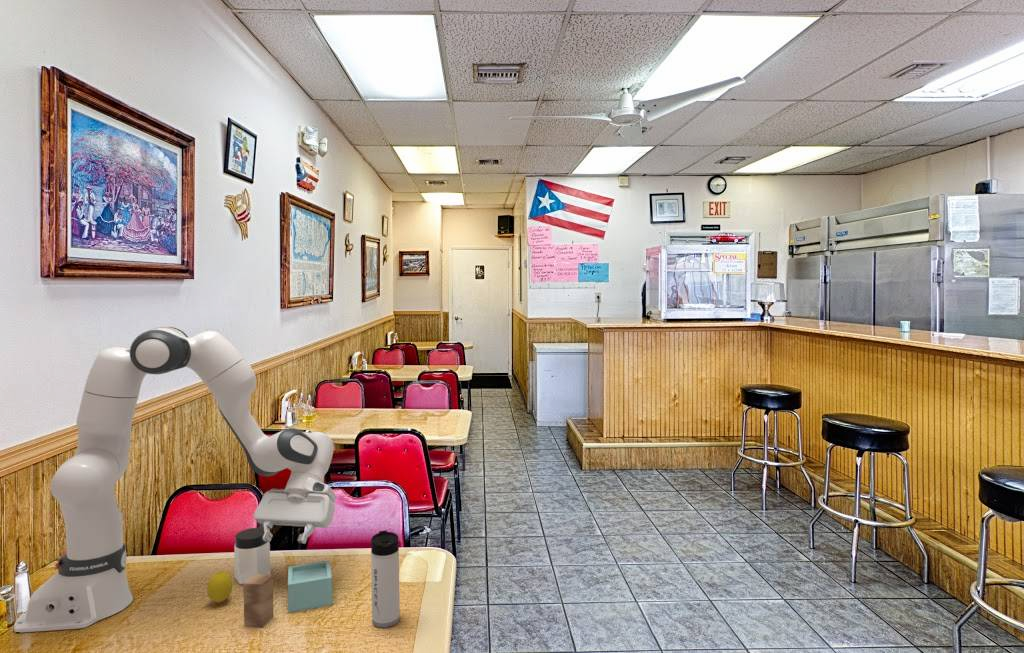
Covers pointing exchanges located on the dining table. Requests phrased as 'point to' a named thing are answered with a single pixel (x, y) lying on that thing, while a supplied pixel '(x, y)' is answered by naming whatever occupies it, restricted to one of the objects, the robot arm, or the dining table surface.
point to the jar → (251, 554)
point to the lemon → (219, 586)
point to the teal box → (309, 586)
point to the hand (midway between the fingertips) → (283, 541)
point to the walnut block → (258, 600)
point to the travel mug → (385, 579)
